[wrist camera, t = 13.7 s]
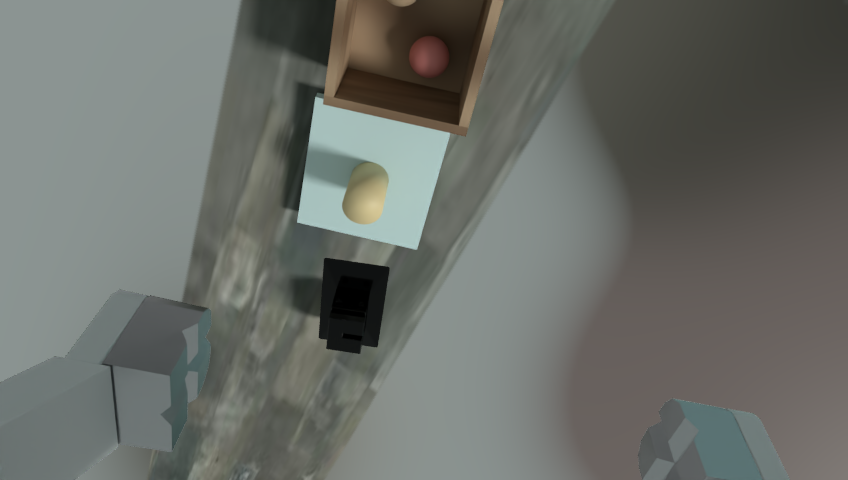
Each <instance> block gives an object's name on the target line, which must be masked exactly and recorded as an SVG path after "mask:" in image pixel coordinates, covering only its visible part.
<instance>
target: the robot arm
mask: <svg viewBox="0 0 848 480" xmlns="http://www.w3.org/2000/svg"><path fill="white" fill-rule="evenodd" d="M210 327H211V310H210V309H209V308H205V307H201V306H196V305H192V304H187V303H183V302H178V301H173V300H169V299H164V298H160V297H155V296H151V295H150V296H147V295H143V294H139V293H134V292H129V291H125V290H121V289H120V290H118V291H117V292H115V293H113V294H112V295H111V296H110V297H109V299H108V300H107V301H106V303H105V304H104V305H103V307H102V308H101V310H100V311H99V312H98V314H97V315H96V316H95V318H94V319H93V320H92V321H91V323H90V324H89V326H88V327H87V328H86V330H85V331H84V332H83V334H82V335H81V336H80V338H79V339H78V340H77V342H76V343H75V344H74V346H73V347H72V348H71V350H70V351H69V352H68V354H67V355H66V357H65V358H63V357H57V356H54V357H53V358H50V359H48V360H46V361H44V362H42V363H40V364H38V365H36V366H33V367H31V368H29V369H27V370H25V371H23V372H21V373H19V374H17V375H14V376H12V377H10V378H8V379H6V380H4V381H2V382H0V480H75V479H77V478H78V477H79V476H81V475H82V474H83V473H85V472H86V471H87V470H89V469H90V468H91V467H93V466H94V465H95V464H97V463H98V462H99V461H100V460H102V459H103V458H105V457H106V456H107V455H108V454H110V453H111V452H112V451H114V450H115V449H117V448H118V444H122V445H128V446H135V447H141V448H148V449H155V450H162V451H168V452H172V451H173V449H174V447H175V445H176V442H177V440H178V438H179V436H180V434H181V432H182V430H183V427H184V425H185V423H186V421H187V416H188V403H190V402H191V401H193V400H194V399H196V398H197V397H198V395H199V393H200V390H201V388H202V386H203V383H204V380H205V377H206V373H207V370H208V366H209V360H210V351H211V344H210V343H209V341H208V340H207V339H206V338H205V337H206V335H207V333H208V331H209V329H210ZM659 414H660V417H661V421H662V422H660V423H658V424H656V425H653V426H651V427H649V428H648V429H647V431H646V433H645V435H644V436H643V438H642V440H641V444H640V449H639V454H638V457H639V469H640V473H641V477H642V480H790V479H789V477H788V475H787V473H786V471H785V469H784V467H783V465H782V463H781V461H780V459H779V456H778V455H777V452H776V451H775V448H774V446H773V444H772V442H771V440H770V438H769V436H768V435H767V432H766V430H765V428H764V426H763V424H762V422H761V420H760V419H759V418H758V417H757V416H755V414H753V413H748V412H743V411H737V410H732V409H723V408H720V407H714V406H710V405H704V404H699V403H693V402H688V401H683V400H677V399H670V400H669V401H667V402H665V404H664V405H663V406H662V408H661V409H660V411H659Z"/></svg>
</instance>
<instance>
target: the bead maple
mask: <svg viewBox="0 0 848 480" xmlns="http://www.w3.org/2000/svg"><path fill="white" fill-rule="evenodd" d="M387 1H389V2H390V3H391V4H393V5H395V6H400V7H404V6H408V5H411V4H413V3H414V2H415V1H416V0H387Z"/></svg>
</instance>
